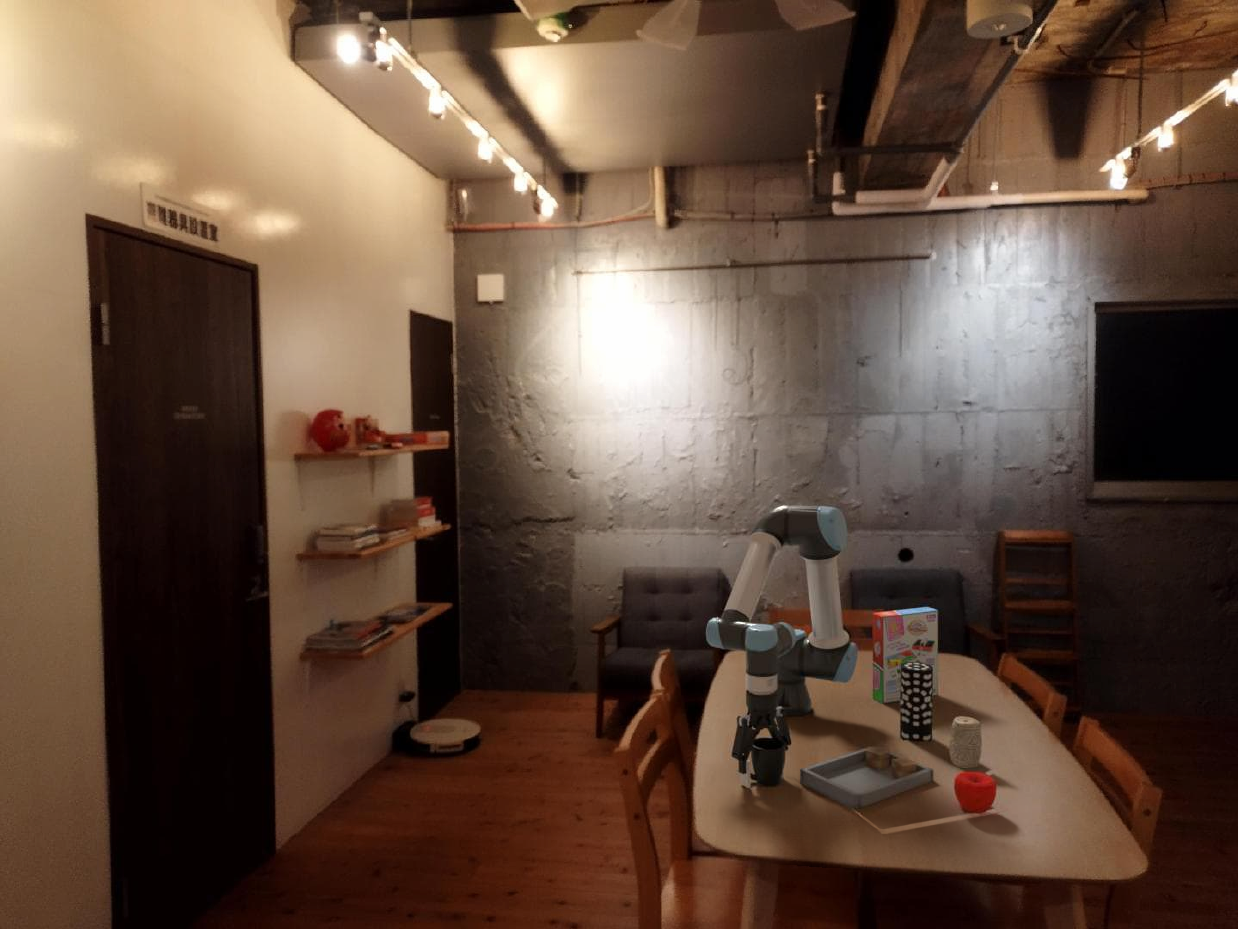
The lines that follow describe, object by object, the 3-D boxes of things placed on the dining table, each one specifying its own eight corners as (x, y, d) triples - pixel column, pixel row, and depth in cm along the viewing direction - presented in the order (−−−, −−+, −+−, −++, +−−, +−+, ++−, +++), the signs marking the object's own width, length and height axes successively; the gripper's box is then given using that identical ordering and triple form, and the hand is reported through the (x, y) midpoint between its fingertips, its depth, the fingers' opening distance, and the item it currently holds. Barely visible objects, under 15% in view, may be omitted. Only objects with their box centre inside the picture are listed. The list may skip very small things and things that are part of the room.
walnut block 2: (891, 775, 209) (891, 759, 209) (905, 773, 211) (905, 757, 210) (901, 782, 206) (901, 766, 205) (916, 780, 207) (916, 763, 207)
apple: (974, 823, 187) (975, 788, 186) (944, 806, 195) (944, 772, 194) (1005, 815, 190) (1005, 780, 190) (974, 799, 198) (974, 765, 198)
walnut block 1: (866, 766, 215) (866, 750, 215) (874, 761, 218) (874, 746, 217) (880, 771, 212) (880, 755, 212) (889, 766, 215) (889, 750, 214)
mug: (734, 774, 213) (733, 736, 213) (783, 774, 213) (783, 737, 212) (736, 788, 205) (736, 749, 204) (787, 789, 204) (787, 750, 204)
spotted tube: (931, 734, 237) (932, 663, 236) (932, 746, 229) (933, 672, 228) (900, 731, 240) (900, 660, 239) (899, 742, 232) (900, 669, 231)
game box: (927, 690, 274) (928, 606, 272) (938, 696, 269) (939, 610, 267) (871, 698, 268) (871, 612, 266) (882, 704, 262) (882, 615, 261)
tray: (800, 783, 208) (800, 769, 207) (874, 758, 222) (874, 745, 221) (857, 812, 192) (857, 796, 192) (933, 783, 206) (933, 769, 206)
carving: (982, 773, 212) (982, 725, 211) (949, 769, 214) (949, 722, 214) (981, 763, 218) (981, 717, 217) (949, 759, 220) (949, 713, 220)
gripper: (735, 703, 198) (736, 798, 200) (806, 685, 210) (806, 774, 212) (715, 694, 205) (716, 786, 206) (785, 677, 217) (785, 764, 218)
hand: (762, 780), depth 209 cm, fingers closed on mug, 10 cm apart
